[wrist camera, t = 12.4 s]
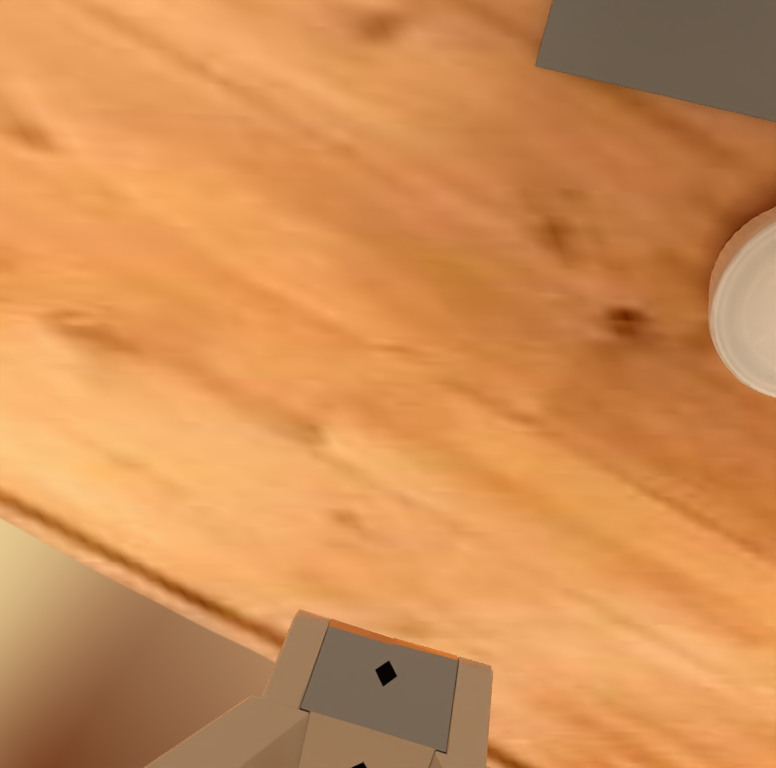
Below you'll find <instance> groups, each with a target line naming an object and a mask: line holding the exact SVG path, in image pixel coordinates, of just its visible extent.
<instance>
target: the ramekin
mask: <svg viewBox="0 0 776 768" xmlns="http://www.w3.org/2000/svg"><path fill="white" fill-rule="evenodd" d="M708 324H709V331H710V335H711V339H712V342H713V344H714V347H715V349H716V351H717V353H718V355H719V357H720V358H721V360H722V361H723V363H724V364H725V365H726V367H727V368H728V369H729V370H730V371H731V373H732V374H733V375H734V376H735V377H736V378H737V379H738V380H739V381H740V382H742V383H743V384H745V385H747V386H748V387H750V388H752V389H753V390H755V391H757V392H760V393H762V394H764V395H767V396H770V397H773V398H776V207H773V208H772V209H770V210H768V211H766V212H763V213H761V214H760V215H759V216H757V217H754V218H753V219H751V220H750V221H749V222H748V223H746V224H744V225H743V226H742V227H741V229H740V230H738V231H737V232H736V233H735V234H734V235H733V236H732V238H731V239H730V240H729V241H728V242H727V243H726V245H725V246H724V248H723V249H722V250H721V252H720V254H719V256H718V258H717V260H716V261H715V266H714V269H713V270H712V272H711V280H710V283H709V306H708Z"/></svg>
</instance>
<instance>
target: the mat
mask: <svg viewBox="0 0 776 768" xmlns="http://www.w3.org/2000/svg"><path fill="white" fill-rule="evenodd" d="M535 66H538V67H542V68H546V69H551V70H555V71H559V72H563V73H568V74H572V75H576V76H581V77H585V78H589V79H594V80H598V81H602V82H606V83H611V84H615V85H619V86H624V87H628V88H632V89H637V90H641V91H645V92H650V93H654V94H658V95H662V96H667V97H671V98H675V99H680V100H684V101H688V102H693V103H697V104H701V105H706V106H710V107H714V108H718V109H723V110H727V111H731V112H736V113H740V114H744V115H749V116H753V117H757V118H761V119H766V120H770V121H774V122H776V0H553V3H552V6H551V10H550V14H549V17H548V21H547V25H546V28H545V32H544V36H543V39H542V43H541V47H540V50H539V54H538V58H537V61H536V65H535Z"/></svg>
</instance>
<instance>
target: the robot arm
mask: <svg viewBox="0 0 776 768" xmlns="http://www.w3.org/2000/svg"><path fill="white" fill-rule="evenodd" d="M492 679H493V671H492V668H491V666H489V665H486V664H483V663H479V662H476V661H472V660H469V659H465V658H462V657H458V658H457V656H456V655H452V654H449V653H445V652H442V651H438V650H435V649H431V648H428V647H424V646H420V645H417V644H413V643H410V642H406V641H403V640H399V639H396V638H394V639H392V638H389V637H386V636H383V635H380V634H377V633H374V632H371V631H368V630H365V629H361V628H358V627H355V626H352V625H349V624H346V623H343V622H340V621H337V620H334V619H332V620H331V619H329V618H326V617H323V616H319V615H316V614H313V613H310V612H307V611H304V610H301V609H299V611H298V612H297V614H296V615H295V617H294V619H293V621H292V624H291V626H290V628H289V631H288V633H287V636H286V638H285V641H284V643H283V645H282V648H281V650H280V653H279V655H278V658H277V660H276V662H275V665H274V667H273V670H272V672H271V675H270V677H269V680H268V682H267V684H266V687H265V689H264V692H263V694H262V696H261V698H260V697H257V696H253V695H251V696H249V697H248V698H246V699H245V700H243V701H242V702H240V703H239V704H237V705H236V706H234V707H233V708H231V709H230V710H228V711H227V712H225V713H224V714H222V715H221V716H220V717H218V718H217V719H215V720H214V721H212V722H211V723H209V724H208V725H206V726H205V727H203V728H202V729H200V730H199V731H197V732H196V733H194V734H193V735H191V736H190V737H188V738H187V739H186V740H184V741H183V742H181V743H180V744H178V745H177V746H175V747H174V748H172V749H171V750H169V751H168V752H166V753H165V754H163V755H162V756H160V757H159V758H157V759H156V760H154V761H153V762H152V763H150V764H148V765H147V766H145V767H144V768H490V767H487V766H486V760H487V747H488V733H489V720H490V706H491V693H492Z"/></svg>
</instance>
